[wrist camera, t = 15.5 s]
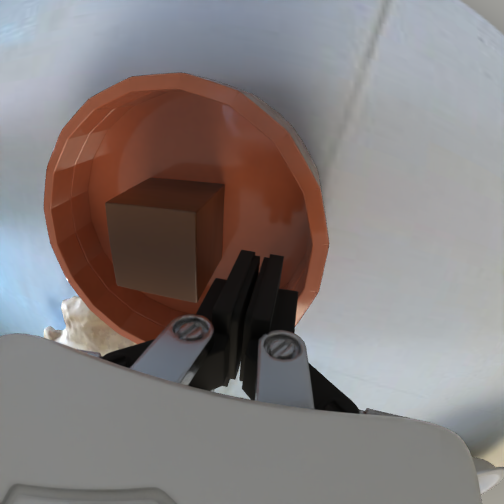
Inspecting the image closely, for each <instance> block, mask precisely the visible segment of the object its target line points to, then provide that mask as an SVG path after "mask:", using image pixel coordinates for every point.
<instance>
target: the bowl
mask: <svg viewBox="0 0 504 504" xmlns="http://www.w3.org/2000/svg"><path fill="white" fill-rule="evenodd" d="M148 178H162V179H175V180H187V181H198V182H209V183H219V184H224V185H225V193H224V215H223V240H222V259H221V261H220V262H219V264H218V266H217V268H216V270H215V271H214V273H213V275H212V277H211V279H210V281H209V282H208V284H207V286H206V288H205V290H204V292H203V293H202V295H201V297H200V299H199V301H198V302H197V303H194V302H189V301H184V300H179V299H174V298H170V297H165V296H160V295H156V294H151V293H147V292H142V291H138V290H134V289H129V288H125V287H121V286H117V283H116V278H115V272H114V267H113V261H112V254H111V248H110V241H109V234H108V226H107V217H106V208H105V203H106V202H107V201H109V200H110V199H112V198H114V197H116V196H117V195H119V194H121V193H123V192H125V191H126V190H128V189H130V188H132V187H134V186H135V185H137V184H139V183H141V182H143V181H145V180H147V179H148ZM44 213H45V219H46V225H47V230H48V235H49V239H50V244H51V246H52V249H53V251H54V253H55V255H56V258H57V260H58V262H59V264H60V266H61V269H62V271H63V273H64V275H65V277H66V279H67V281H68V282H69V283H70V285H71V286H72V287H73V289H74V290H75V291H76V293H77V294H78V295H79V297H80V298H81V299H82V301H83V302H84V303H85V304H86V306H87V307H88V308H89V309H90V311H92V312H93V313H94V314H95V315H96V316H97V317H98V318H100V319H101V320H102V321H103V322H104V323H106V324H107V325H108V326H109V327H110V328H112V329H113V330H114V331H115V332H116V333H118V334H119V335H121V336H123V337H125V338H127V339H129V340H130V341H132V342H134V343H136V344H140V343H143V342H146V341H150V340H153V339H156V338H157V337H158V335H159V334H160V333H161V332H162V331H163V330H164V329H165V328H166V326H167V325H168V324H169V323H170V322H171V321H172V320H173V319H175V318H176V317H178V316H181V315H185V314H196V313H197V311H198V309H199V307H200V305H201V303H202V301H203V300H204V298H205V296H206V294H207V292H208V290H209V289H210V287H211V285H212V283H213V281H214V280H215V278H220V279H225V280H227V278H228V276H229V274H230V272H231V270H232V268H233V266H234V264H235V262H236V260H237V258H238V255H239V253H240V251H241V250H247V251H253V252H255V256H260V265H259V271H260V268H261V265H262V262H263V259H264V257H268V258H269V256H270V254H273V255H279V256H284V260H283V267H282V273H281V280H280V287H279V288H280V289H286V290H293V291H298V300H297V311H296V320H295V326H296V325H297V324H298V322H299V321H300V319H301V318H302V316H303V315H304V313H305V312H306V310H307V309H308V308H309V306H310V305H311V303H312V302H313V300H314V299H315V297H316V296H317V294H318V292H319V289H320V285H321V280H322V276H323V272H324V267H325V262H326V258H327V253H328V248H329V238H328V230H327V222H326V215H325V209H324V202H323V196H322V190H321V185H320V179H319V174H318V170H317V167H316V165H315V164H314V162H313V159H312V157H311V156H310V154H309V152H308V150H307V148H306V146H305V144H304V142H303V141H302V139H301V138H300V137H299V135H298V134H297V132H296V130H295V129H294V128H293V127H292V125H291V124H289V123H288V122H287V121H286V120H285V119H284V118H283V117H282V115H281V114H280V113H278V112H277V111H276V110H275V109H273V108H272V107H271V106H269V105H268V104H267V103H266V102H264V101H263V100H261V99H260V98H259V97H257V96H255V95H254V94H252V93H249V92H247V91H244V90H241V89H239V88H236V87H233V86H230V85H227V84H224V83H221V82H218V81H215V80H212V79H209V78H205V77H200V76H196V75H192V74H188V73H164V74H151V75H141V76H132V77H129V78H127V79H125V80H123V81H121V82H119V83H117V84H115V85H113V86H111V87H109V88H107V89H105V90H103V91H102V92H100V93H98V94H96V95H94V96H92V97H91V98H90V99H88V100H87V101H86V102H85V103H84V105H83V106H82V107H81V108H80V109H79V110H78V111H77V112H76V114H75V115H74V116H73V117H72V118H71V119H70V121H69V122H68V123H67V124H66V125H65V127H64V128H63V129H62V131H61V133H60V135H59V137H58V140H57V142H56V145H55V147H54V150H53V152H52V155H51V157H50V160H49V163H48V166H47V169H46V179H45V192H44ZM258 275H259V274H258Z"/></svg>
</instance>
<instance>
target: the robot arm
mask: <svg viewBox="0 0 504 504" xmlns="http://www.w3.org/2000/svg"><path fill="white" fill-rule="evenodd" d="M283 260H284V256H279V255H273V254H270V256H269V258H268V257H264V259H263V262H262V265H261V268H260V271H259V265H260V256H255V252H253V251H247V250H241V251H240V253H239V255H238V258H237V260H236V262H235V264H234V266H233V268H232V270H231V272H230V274H229V276H228V278H227V280H225V279H220V278H215V280H214V281H213V283H212V285H211V287H210V289H209V290H208V292H207V294H206V296H205V298H204V300H203V301H202V303H201V305H200V307H199V309H198V311H197V313H196V314H185V315H181V316H178V317H176V318H175V319H173V320H172V321H171V322H170V323H169V324H168V325H167V326H166V328H165V329H164V330H163V331H162V332H161V333H160V334H159V335H158V337H157V338H156V339H153V340H150V341H146V342H143V343H140V344H136V345H133V346H130V347H126V348H123V349H119V350H116V351H112V352H110V353H107V354H105V355H104V356H101V354H100V353H99V352H92V351H86V350H80V349H74V348H72V347H69V346H67V345H64V344H61V343H59V342H56V341H53V340H50V339H47V338H43V337H40V336H36V335H30V334H19V333H14V334H5V335H2V336H0V504H482V499H481V492H480V487H479V481H478V476H477V472H476V468H475V465H474V462H473V459H472V456H471V453H470V451H469V449H468V447H467V445H466V444H465V442H464V441H463V440H462V438H461V437H459V436H458V435H457V434H456V433H454V432H453V431H451V430H449V429H447V428H445V427H442V426H439V425H436V424H433V423H430V422H426V421H422V420H417V419H412V418H407V417H402V416H398V415H393V414H389V413H385V412H381V411H377V410H373V409H369V408H367V409H366V410H365V411H363V410H359V409H358V407H357V406H356V405H355V404H354V403H353V401H351V400H350V399H349V398H348V397H347V396H346V395H344V394H343V393H342V392H341V391H340V390H339V389H338V388H336V387H335V386H334V385H333V384H332V383H331V382H330V381H328V380H327V379H326V378H325V377H324V376H323V375H322V374H321V373H319V372H318V371H317V370H316V369H315V368H314V367H313V366H312V365H311V364H309V363H308V357H307V350H306V346H305V343H304V341H303V340H302V339H301V338H300V337H299V336H298V335H296V334H294V330H295V320H296V311H297V300H298V291H293V290H286V289H280V288H279V287H280V280H281V273H282V267H283ZM258 274H259V275H258ZM240 362H241V368H240V381H243V385H242V389H243V390H244V392H245V393H246V394H247V395H248V396H249V398H250V399H251V400H249V399H244V398H239V397H234V396H229V395H225V394H220V393H216V392H214V389H215V388H218V387H220V386H226V387H227V386H228V383H229V380H230V379H234V380H235V379H236V376H237V372H238V369H239V366H240Z"/></svg>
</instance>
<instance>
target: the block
mask: <svg viewBox="0 0 504 504" xmlns="http://www.w3.org/2000/svg"><path fill="white" fill-rule="evenodd" d="M224 193H225V185H224V184H219V183H209V182H198V181H187V180H175V179H162V178H148V179H147V180H145V181H143V182H141V183H139V184H137V185H135V186H134V187H132V188H130V189H128V190H126V191H125V192H123V193H121V194H119V195H117V196H116V197H114V198H112V199H110V200H109V201H107V202H106V203H105V208H106V217H107V226H108V234H109V241H110V248H111V254H112V261H113V267H114V272H115V278H116V283H117V286H121V287H125V288H129V289H134V290H138V291H142V292H147V293H151V294H156V295H160V296H165V297H170V298H174V299H179V300H184V301H189V302H194V303H197V302H198V301H199V299H200V297H201V295H202V293H203V292H204V290H205V288H206V286H207V284H208V282H209V281H210V279H211V277H212V275H213V273H214V271H215V270H216V268H217V266H218V264H219V262H220V261H221V259H222V240H223V215H224Z"/></svg>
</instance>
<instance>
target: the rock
mask: <svg viewBox="0 0 504 504" xmlns="http://www.w3.org/2000/svg"><path fill="white" fill-rule="evenodd" d="M61 310H62V313H63V317H64V321H65V324H66V328H65V329H64V330H55V329H54V328H52V327H50V326H49V327H46V328H45V329H44V338H47V339H50V340H53V341H56V342H59V343H61V344H64V345H67V346H69V347H72V348H74V349H80V350H86V351H92V352H99V353H100V354H101V356H104V355H105V354H107V353H110V352H112V351H116V350H119V349H123V348H126V347H130V346H133V345H136V343H134V342H132V341H130V340H129V339H127V338H125V337H123V336H121V335H119V334H118V333H116V332H115V331H114V330H113V329H112V328H110V327H109V326H108V325H107V324H106V323H104V322H103V321H102V320H101V319H100V318H98V317H97V316H96V315H95V314H94V313H93V312H92V311H90V309H89V308H88V307H87V306H86V304H85V303H84V302H83V301H82V299H81V298H80V297H77V296H74V297H72V298H69V299H66V300H63V301H62V304H61Z"/></svg>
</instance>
